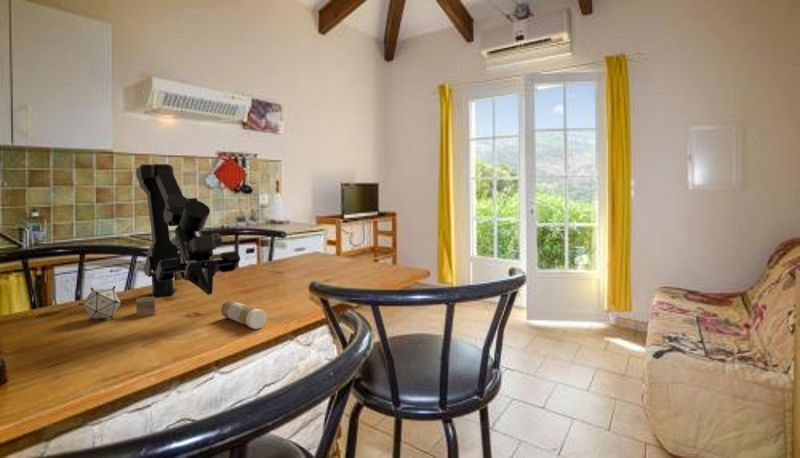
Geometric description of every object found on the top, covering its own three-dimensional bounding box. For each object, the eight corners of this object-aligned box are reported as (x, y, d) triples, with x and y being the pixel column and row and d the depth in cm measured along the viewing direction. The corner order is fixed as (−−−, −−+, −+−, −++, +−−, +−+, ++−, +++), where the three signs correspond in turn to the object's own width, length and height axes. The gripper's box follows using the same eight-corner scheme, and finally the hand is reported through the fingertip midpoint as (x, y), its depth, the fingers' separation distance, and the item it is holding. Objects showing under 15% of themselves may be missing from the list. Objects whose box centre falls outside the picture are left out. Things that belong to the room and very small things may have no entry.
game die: (105, 335, 102) (93, 311, 95) (78, 321, 103) (64, 296, 97) (135, 309, 109) (126, 285, 102) (109, 296, 110) (98, 271, 103)
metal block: (137, 313, 108) (136, 298, 108) (155, 310, 110) (154, 296, 110) (136, 317, 105) (136, 302, 104) (155, 315, 107) (154, 300, 106)
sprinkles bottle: (239, 305, 108) (270, 315, 100) (229, 320, 106) (259, 332, 98) (227, 296, 105) (257, 306, 97) (216, 312, 103) (246, 324, 95)
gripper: (156, 225, 95) (175, 281, 88) (236, 220, 108) (257, 268, 102) (148, 254, 101) (165, 308, 95) (224, 246, 114) (243, 293, 108)
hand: (210, 293), depth 100 cm, fingers closed
